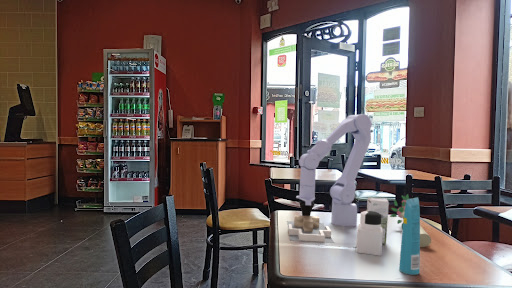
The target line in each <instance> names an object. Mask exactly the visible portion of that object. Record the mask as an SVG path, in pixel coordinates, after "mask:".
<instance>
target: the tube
mask: <svg viewBox="0 0 512 288" xmlns="http://www.w3.org/2000/svg"><path fill="white" fill-rule="evenodd" d="M404 207H405V212H404V219H403V218H402V223H403V229H401V230H402V231H401V243H400V244H401V245H400V255H399V256H400V257H399V264H398V268H399V271H400V272H401V273H402V272H403V273H402V274H405V275H410V276H411V275H412V276H414V275H416V276H417V275H420V268H421V267H420V265H421V263H420V262H421V260H420V257H421V247H420V225H421V217H420V216H421V214H420V212H421V211H420V210H421V209H420V200H419V197H418V196H417V197H414V198H409V199H408V200H406V205H405V206H404Z"/></svg>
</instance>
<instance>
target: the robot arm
mask: <svg viewBox="0 0 512 288" xmlns="http://www.w3.org/2000/svg"><path fill="white" fill-rule="evenodd" d="M372 125H373V122H372V121H371V119H370V117H369V116H368V115H367V114H365V113H360V114H350V115H347V116H346V118H345V119H343V120H342V121H341V122H340V123H339V125H337V127H336V128H335V129H334V130H333V131H332V132H331V133H330V134H329V135H328V136H327V137H326V138H325V139H320V140H316V141H315V144H314V145H313V146H312V147H311V148H310V149H308V150H306V152H307V153H303V154H302V155H301V156H300V157H299V160H298V165H299V166H300V174H299V175H300V176H299V177H300V179H299V195H296V197H295V198H296V199H299V200H301V201H298V203H299V205H300V209H301V216H311V214H312V210H313V208H314V207H315V202H314V201H315V199H316V197H315V195H316V194H315V193H316V173H317V172H316V169H317V168H318V167H319V164H320V162H321V161H322V160H323V159H324V158H325V157H326V156H327V155H328V154H329V153H330V152H331V151H332V146H333V145H335V143H336V142H338V141H339V140H340V139H342V138H343V136H344V135H345V134H347V133H350V134H351V135H353V138H354V144H353V146H352V148H351V150H350V153H349V156H348V158H347V160H346V162H345V165H344V168H343V171H342V173H341V176H340V177H339V178H337V179H336V180H335V182H334V184H333V185H332V186H331V187H330V189H329V195H330V197H331V198H332V200H331V201H332V202H331V222H330V223H331V224H332V225H334V226H341V227H343V226H344V227H349V226H350V227H357V226H358V225H357V222H358V207H357V204H356V203H352V202H353V201H354V199H355V197H356V190H357V186H356V178H357V176H358V174H359V170H360V168H361V165H362V164H363V161H364V159H365V156H366V153H367V151H368V148H369V146H370V144H371V140H372V134H371V133H372V131H371V130H372V129H371V128H372Z"/></svg>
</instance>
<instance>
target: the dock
mask: <svg viewBox="0 0 512 288" xmlns="http://www.w3.org/2000/svg"><path fill="white" fill-rule="evenodd" d="M324 226H325V230H319V235H318V234H303V233H302V230H301V229H295V228H292V224H289V226H288V225H287V230H288V236H289V235H298V237H299V240H300V241H299V242H307V241H317V242H316V243H324V242H325V237H331V238H332V230H331V228H330V226H328V225H324Z"/></svg>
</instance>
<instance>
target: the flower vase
mask: <svg viewBox="0 0 512 288" xmlns="http://www.w3.org/2000/svg"><path fill="white" fill-rule="evenodd" d="M401 199H402V200H401V206H398V201H397V200H396V199H394V201H393V203H394V206H395V207H398V208H395V207H390V209H391V210H392V211H393V212H396V213H393V214H390V215H389V217H390V218H397V217H399V218H400V219H398V220H397V225H399V224H401V223H402V224H401V227H400V228H401V230H403V219H404V212H405V205H406V200H408V199H410V197H409V193H407V194H406V195H401ZM431 244H432V238H431V236H430V235H429V233H428V232H426V230H425V229H424V227H422V225H421V224H420V248H426V247H428V246H430V245H431Z"/></svg>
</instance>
